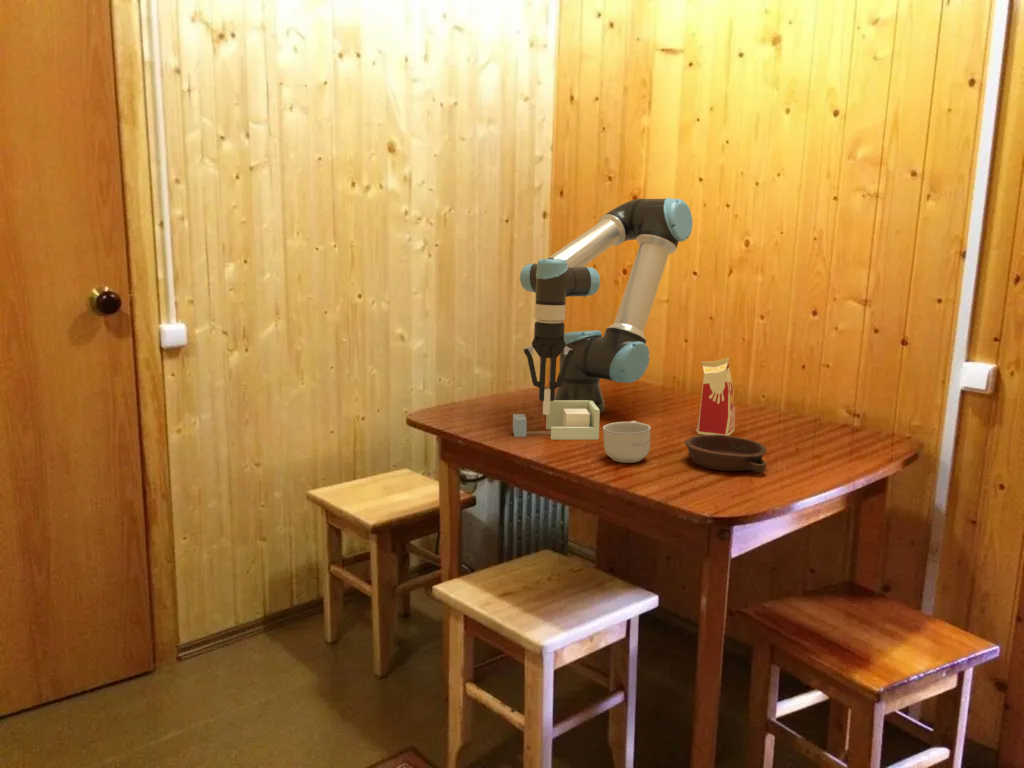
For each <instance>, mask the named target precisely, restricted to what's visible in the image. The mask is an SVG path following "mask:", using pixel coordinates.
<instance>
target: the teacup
mask: <svg viewBox="0 0 1024 768" xmlns="http://www.w3.org/2000/svg"><path fill="white" fill-rule="evenodd" d="M651 428H652V427H651V425H649V424H646V423H644V422H639V421H637V420H630V421H616V422H611V423H607V424H605V425H603V427H602V430H603V446H604V447H603V448H604V452H605V454H606V455H607V457H609V458H611V460H613V461H614V462H617V463H625V464H632V463H638V462H640V461H642V460H643V459H644V458H645V457H646V456H647V455H648V454H649V453H650V448H651V430H652V429H651Z"/></svg>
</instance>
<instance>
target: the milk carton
mask: <svg viewBox="0 0 1024 768" xmlns="http://www.w3.org/2000/svg"><path fill="white" fill-rule="evenodd" d="M729 360H730V357H726V358H723V359H722V358H721V359H719V360H715V361H713V360H711V361H700V364H701V365H702V369H703V381H702V387H701V397H700V407H699V408H700V409H699V414H698V420H697V424H696V429H695V431H696V434H698V435H727V436H731V435H732V433H733V432H735V420H736V418H735V417H736V410H735V399H734V398H735V395H734V386H733V380H732V375H731V370H730V364H729Z"/></svg>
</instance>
